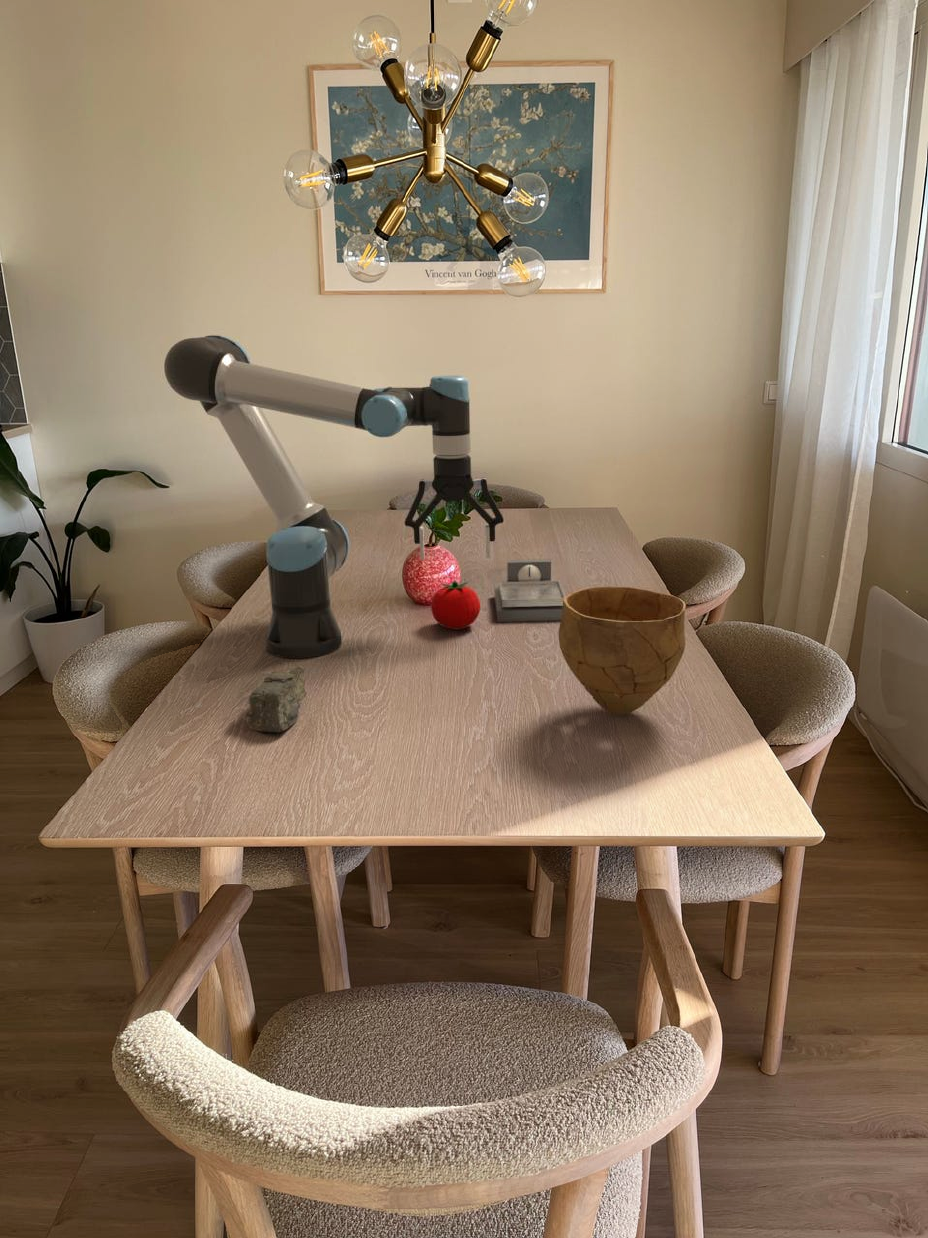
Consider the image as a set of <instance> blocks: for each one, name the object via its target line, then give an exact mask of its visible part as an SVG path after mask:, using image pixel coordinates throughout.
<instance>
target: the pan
mask: <svg viewBox="0 0 928 1238" xmlns="http://www.w3.org/2000/svg"><path fill="white" fill-rule="evenodd" d="M562 585H563V584H562V581H561V580H560V579H556V580H555V579H554V580H553V579H551V580H547V581H507V580H506V581H498V587H499V591H500V597H501V603H502V607H526V606H563V598H565V596H566V595H567V593H566V591H565V592H564V590H565V588H564V586H563V587H562ZM563 588H564V589H563ZM565 593H566V594H565Z"/></svg>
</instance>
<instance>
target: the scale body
mask: <svg viewBox="0 0 928 1238" xmlns="http://www.w3.org/2000/svg"><path fill="white" fill-rule="evenodd" d="M547 580H552V561H551V558H533V559H531V558H529V559H527V558H526V559H506V581H547ZM562 587H563V589H564V592H565V594H566V595H567V592H566V591H565V588H564V585H563V584H562ZM493 589H494V590H493V594H494V595H493V598H494V605H495V612H496V618H497V622H498V623H499V622H500V623H501V622H503V623H505V622H538V621H539V622H542V621H544V622H545V621H561V618H562V609H563V606H526V607H502V603H501V597H500V591H499V586H494V587H493Z"/></svg>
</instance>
